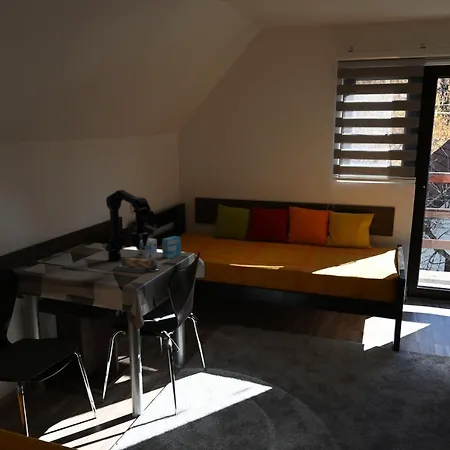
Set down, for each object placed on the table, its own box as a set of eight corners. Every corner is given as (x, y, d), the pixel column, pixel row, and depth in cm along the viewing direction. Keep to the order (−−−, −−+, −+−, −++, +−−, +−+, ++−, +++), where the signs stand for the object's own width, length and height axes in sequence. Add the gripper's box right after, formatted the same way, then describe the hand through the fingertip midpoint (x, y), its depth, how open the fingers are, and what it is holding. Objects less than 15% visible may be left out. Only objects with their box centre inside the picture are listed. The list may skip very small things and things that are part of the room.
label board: (112, 270, 272) (112, 267, 272) (123, 264, 283) (122, 262, 283) (143, 273, 267) (143, 270, 266) (152, 267, 278) (152, 264, 278)
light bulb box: (146, 259, 294) (145, 242, 292) (138, 258, 297) (137, 241, 295) (157, 255, 303) (157, 238, 301) (149, 254, 306) (148, 237, 304)
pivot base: (146, 271, 269) (146, 269, 269) (151, 268, 275) (151, 267, 275) (156, 272, 268) (156, 270, 267) (161, 269, 273) (161, 267, 273)
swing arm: (158, 267, 272) (157, 259, 271) (155, 269, 269) (155, 261, 268) (124, 264, 278) (124, 256, 277) (121, 266, 275) (121, 258, 274)
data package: (167, 259, 295) (167, 239, 293) (162, 257, 298) (161, 238, 295) (181, 255, 304) (180, 236, 302) (176, 253, 307) (175, 235, 305)
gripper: (147, 224, 258) (148, 253, 261) (160, 218, 275) (161, 245, 278) (128, 223, 260) (129, 251, 263) (142, 217, 278) (143, 243, 281)
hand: (141, 248), depth 272 cm, fingers open, 9 cm apart
